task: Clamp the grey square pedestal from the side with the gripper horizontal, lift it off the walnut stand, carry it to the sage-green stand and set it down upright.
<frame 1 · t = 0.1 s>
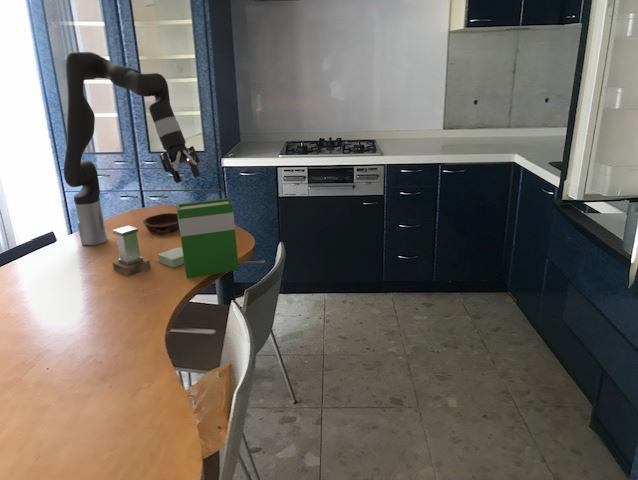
hand: (188, 179, 170), 31 cm above the table, tool tilted 20°, fingers open, 8 cm apart
green stand: (176, 260, 186), on the table
grey square pedestal: (130, 261, 179), point 3 cm above the table, touching walnut stand
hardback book: (212, 270, 177), on the table
dish: (165, 230, 221), on the table
walnut stand: (132, 269, 180), on the table
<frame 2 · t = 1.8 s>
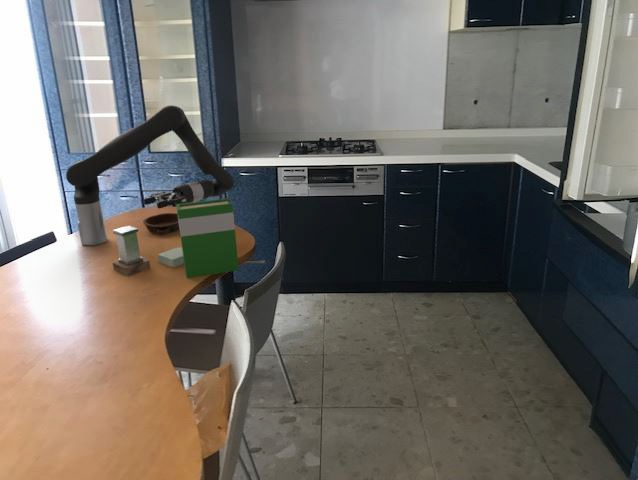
hand: (150, 203, 181), 21 cm above the table, tool horizontal, fingers open, 8 cm apart
nothing on the table moved.
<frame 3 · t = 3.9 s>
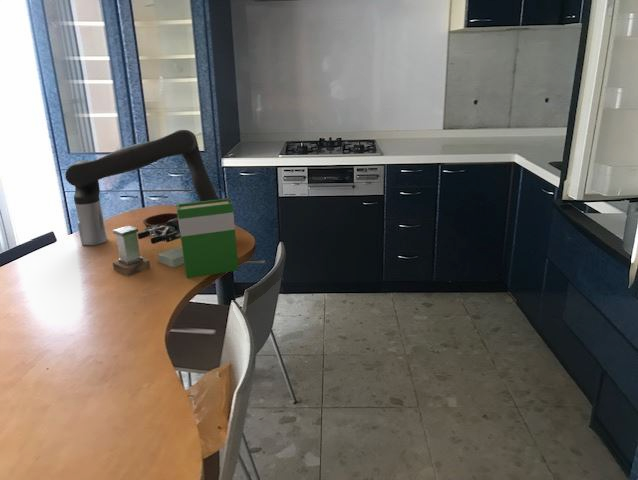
hand: (144, 238, 182), 9 cm above the table, tool horizontal, fingers open, 8 cm apart
nothing on the table moved.
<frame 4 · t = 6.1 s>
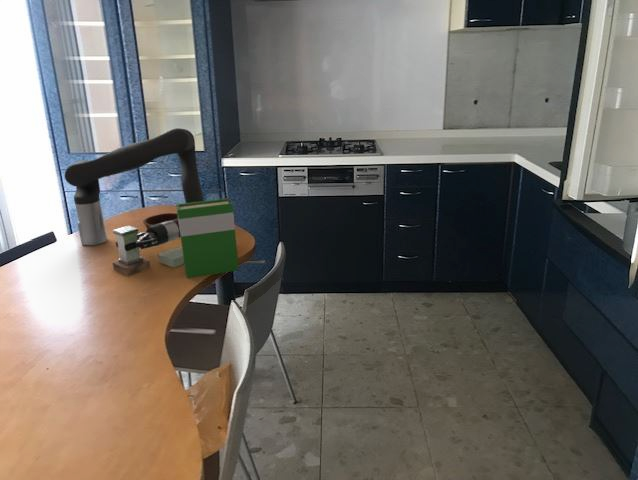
hand: (121, 246, 175), 10 cm above the table, tool horizontal, fingers closed on grey square pedestal, 5 cm apart
grey square pedestal: (130, 261, 179), point 3 cm above the table, touching gripper, walnut stand
everything else where it was.
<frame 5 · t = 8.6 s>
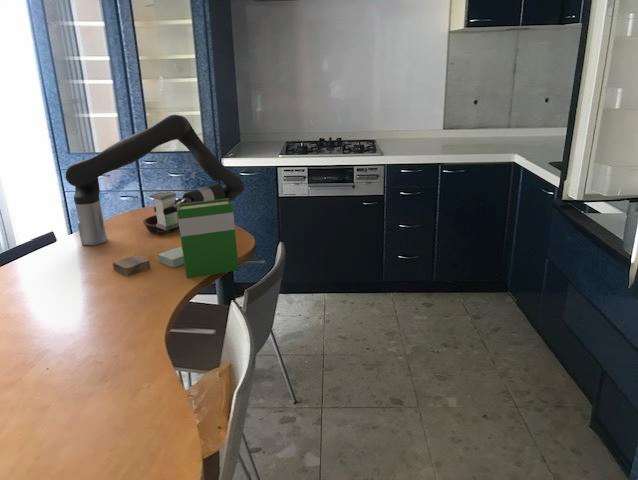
hand: (159, 210, 177), 20 cm above the table, tool horizontal, fingers closed on grey square pedestal, 5 cm apart
grey square pedestal: (168, 226, 181), point 14 cm above the table, touching gripper
everything else where it was.
when the fingers open (10 cm above the table, at t = 11.0 s): grey square pedestal stays where it is, resting on green stand.
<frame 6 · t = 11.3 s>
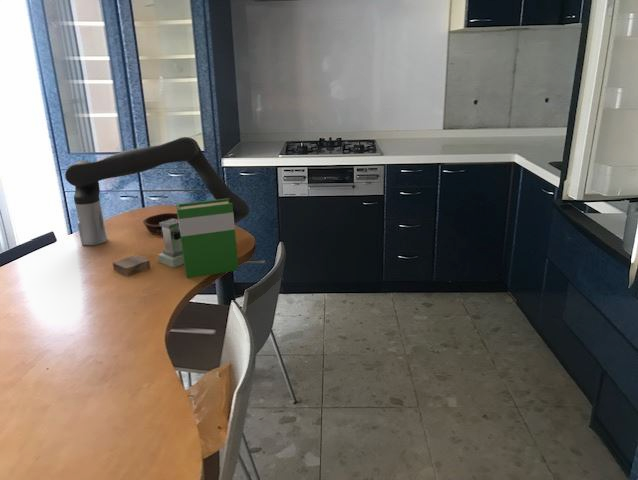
hand: (167, 235, 181), 11 cm above the table, tool horizontal, fingers open, 7 cm apart
grey square pedestal: (175, 253, 185), point 3 cm above the table, touching green stand
everything else where it was.
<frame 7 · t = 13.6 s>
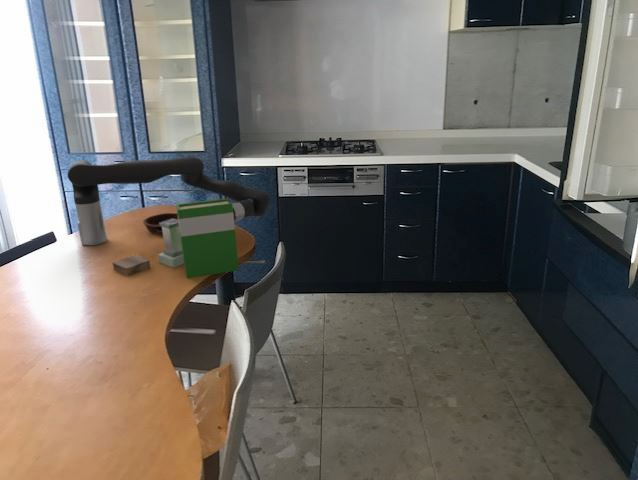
hand: (196, 224, 190), 11 cm above the table, tool horizontal, fingers open, 8 cm apart
nothing on the table moved.
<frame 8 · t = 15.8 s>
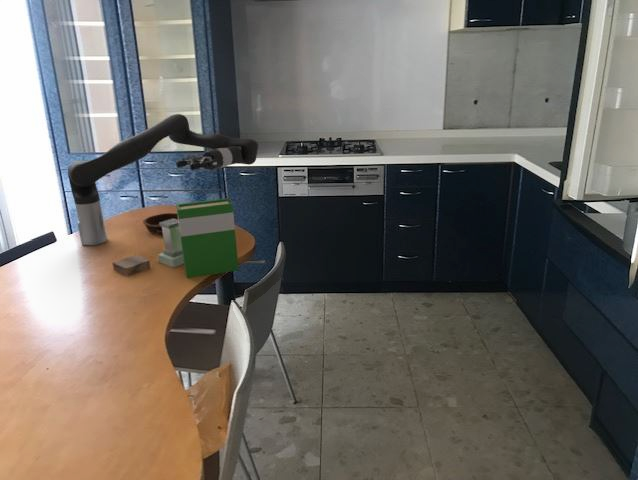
hand: (183, 166, 188), 32 cm above the table, tool horizontal, fingers open, 8 cm apart
nothing on the table moved.
at the end: grey square pedestal 0.1 cm off-centre on the green stand, point 3.0 cm above the green stand's base; grey square pedestal tilted 0°; the gripper is holding nothing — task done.
